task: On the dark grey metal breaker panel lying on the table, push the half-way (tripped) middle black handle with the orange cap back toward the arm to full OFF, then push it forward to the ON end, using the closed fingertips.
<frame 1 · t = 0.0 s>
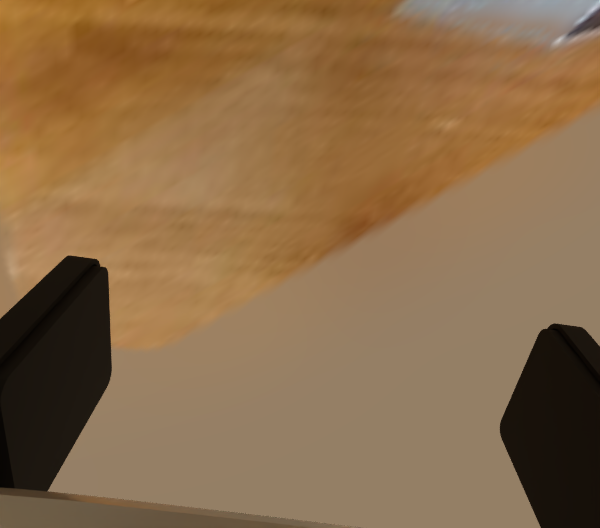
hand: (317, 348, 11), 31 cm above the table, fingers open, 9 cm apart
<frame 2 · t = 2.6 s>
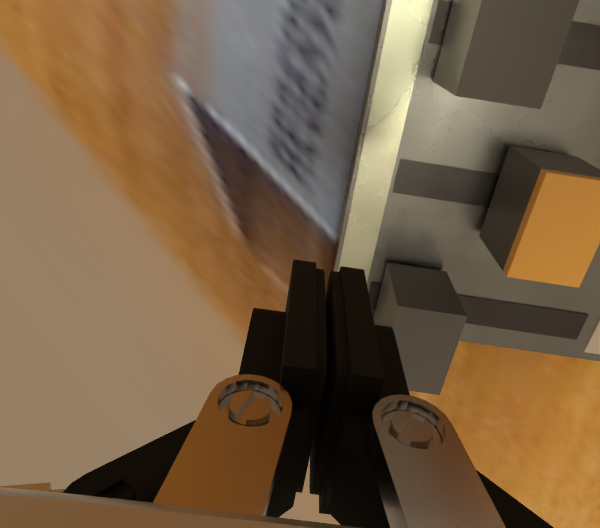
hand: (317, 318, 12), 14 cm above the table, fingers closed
panel: (511, 185, 24), on the table
breaker 2: (500, 31, 18), point 4 cm above the table, slide at 8.0 cm
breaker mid: (542, 214, 21), point 4 cm above the table, slide at 4.0 cm
breaker 1: (412, 326, 24), point 4 cm above the table, slide at 8.0 cm
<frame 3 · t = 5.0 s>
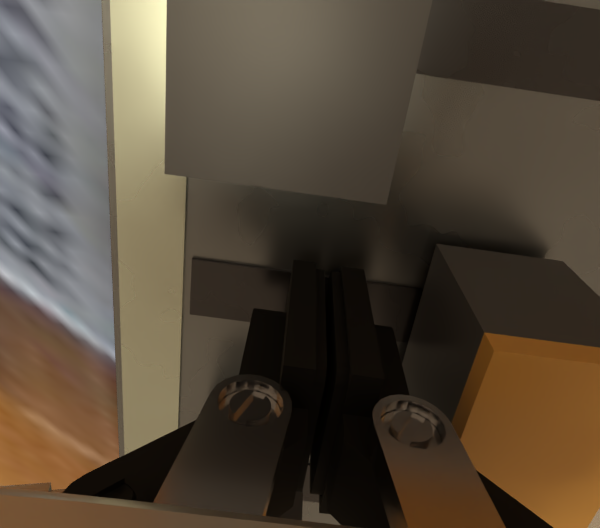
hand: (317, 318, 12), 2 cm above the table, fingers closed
panel: (413, 288, 14), on the table
breaker 2: (302, 9, 7), point 4 cm above the table, slide at 8.0 cm
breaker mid: (499, 385, 11), point 4 cm above the table, slide at 2.8 cm, touching gripper
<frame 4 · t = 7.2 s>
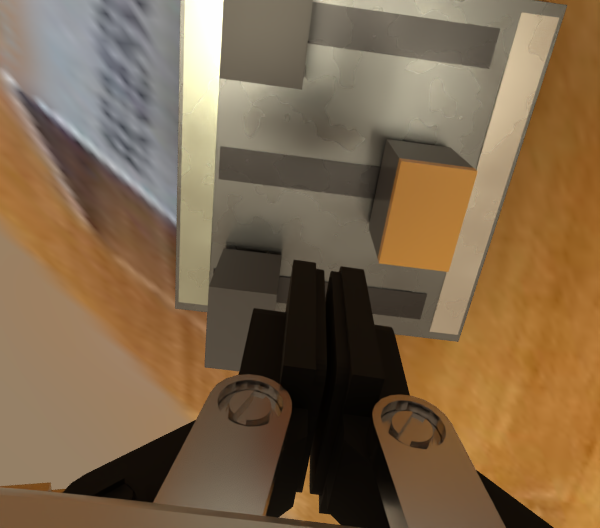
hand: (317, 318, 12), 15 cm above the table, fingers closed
panel: (341, 170, 25), on the table
breaker 2: (271, 17, 19), point 4 cm above the table, slide at 8.0 cm
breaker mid: (416, 202, 22), point 4 cm above the table, slide at 0.9 cm
breaker 1: (244, 309, 24), point 4 cm above the table, slide at 8.0 cm
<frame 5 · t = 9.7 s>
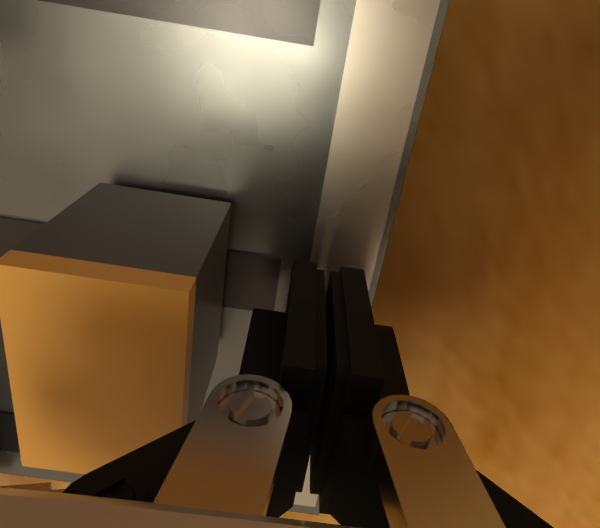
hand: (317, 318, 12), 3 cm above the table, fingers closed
panel: (87, 230, 14), on the table
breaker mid: (135, 322, 10), point 4 cm above the table, slide at 1.3 cm, touching gripper
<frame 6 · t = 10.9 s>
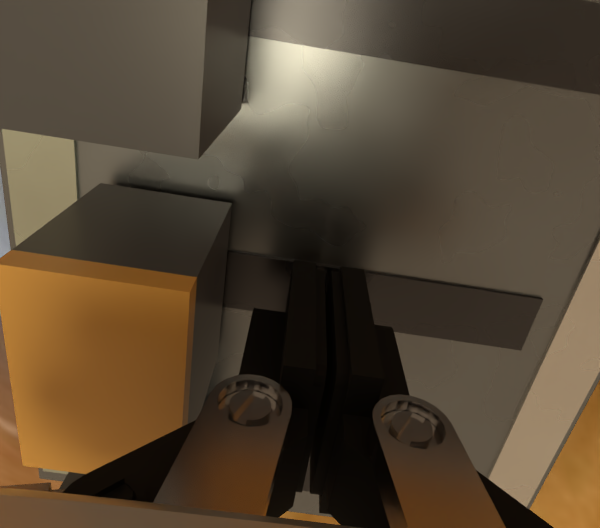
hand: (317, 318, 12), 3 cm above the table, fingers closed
panel: (323, 266, 14), on the table
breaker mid: (136, 323, 10), point 4 cm above the table, slide at 8.0 cm, touching gripper
breaker 1: (136, 522, 13), point 4 cm above the table, slide at 8.0 cm
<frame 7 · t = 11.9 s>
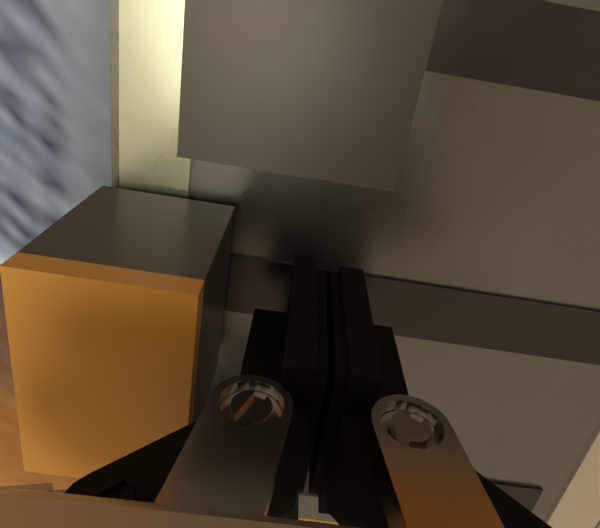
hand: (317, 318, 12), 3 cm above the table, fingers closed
panel: (410, 283, 14), on the table
breaker 2: (313, 0, 8), point 4 cm above the table, slide at 8.0 cm
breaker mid: (139, 326, 10), point 4 cm above the table, slide at 10.6 cm, touching gripper
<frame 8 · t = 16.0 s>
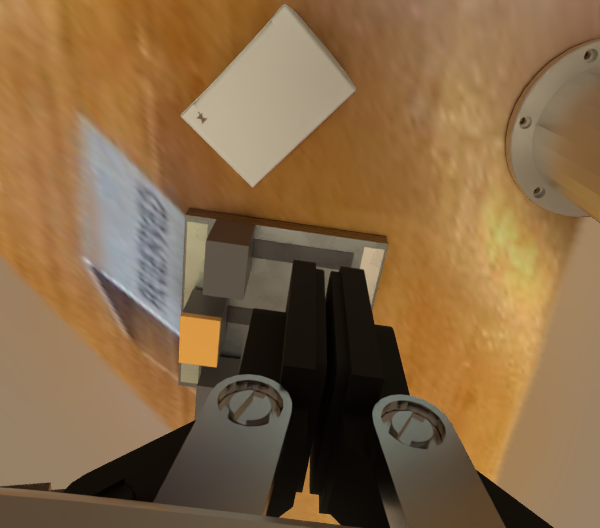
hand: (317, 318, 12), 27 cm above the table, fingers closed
small box: (280, 81, 35), on the table
panel: (275, 311, 44), on the table
breaker 2: (229, 258, 37), point 4 cm above the table, slide at 8.0 cm
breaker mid: (204, 327, 40), point 4 cm above the table, slide at 9.5 cm
breaker 1: (218, 391, 43), point 4 cm above the table, slide at 8.0 cm
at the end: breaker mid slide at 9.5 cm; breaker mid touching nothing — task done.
